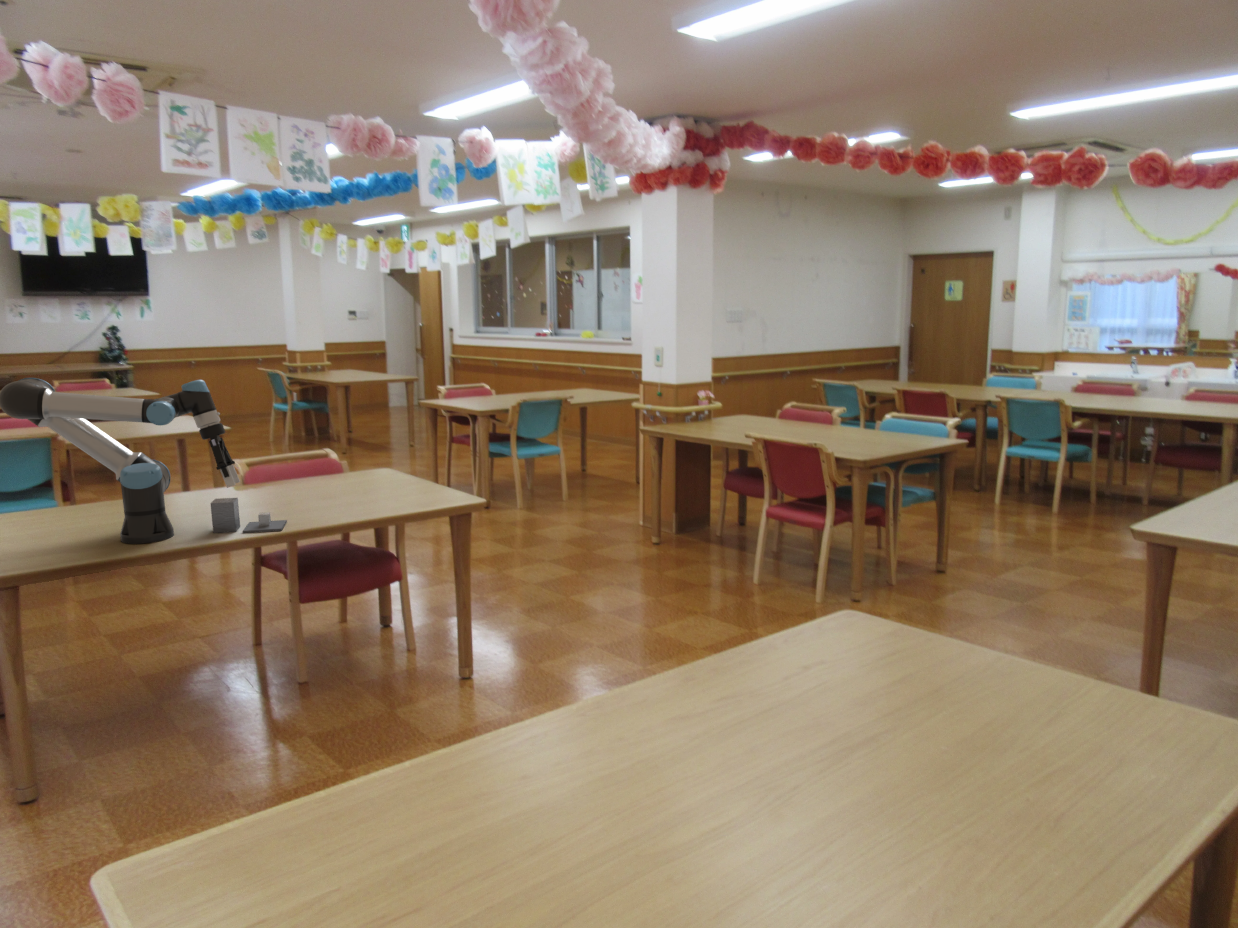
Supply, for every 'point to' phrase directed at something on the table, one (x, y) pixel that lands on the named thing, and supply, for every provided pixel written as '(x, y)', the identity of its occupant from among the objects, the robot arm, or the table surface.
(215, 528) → the grey upright block
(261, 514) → the post
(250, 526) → the base plate
